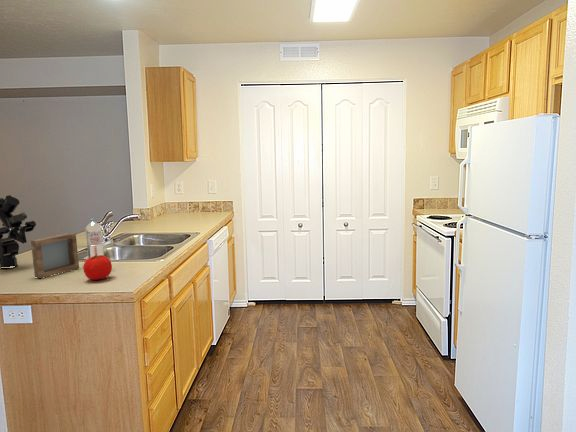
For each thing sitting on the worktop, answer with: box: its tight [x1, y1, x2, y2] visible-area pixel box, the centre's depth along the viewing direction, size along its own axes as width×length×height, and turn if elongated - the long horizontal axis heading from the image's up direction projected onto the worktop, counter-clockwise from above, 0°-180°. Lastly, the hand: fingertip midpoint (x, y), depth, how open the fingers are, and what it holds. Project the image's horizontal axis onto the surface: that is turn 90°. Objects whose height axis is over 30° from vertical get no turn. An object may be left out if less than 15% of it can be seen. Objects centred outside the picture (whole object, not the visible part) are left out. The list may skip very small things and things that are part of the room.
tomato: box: [82, 254, 113, 281], centre depth 198 cm, size 12×12×11 cm
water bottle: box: [85, 218, 105, 259], centre depth 213 cm, size 7×7×25 cm
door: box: [41, 239, 70, 270], centre depth 213 cm, size 3×17×16 cm, turn 153°
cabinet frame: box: [30, 232, 80, 279], centre depth 211 cm, size 4×20×18 cm, turn 152°
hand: (25, 242), depth 219 cm, fingers closed
